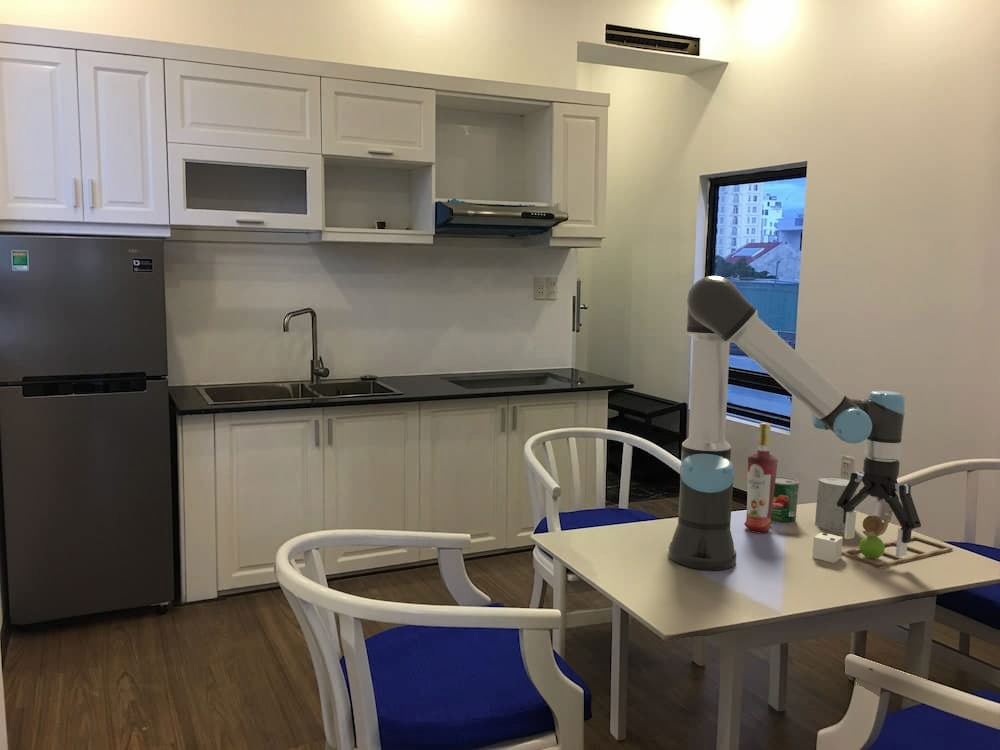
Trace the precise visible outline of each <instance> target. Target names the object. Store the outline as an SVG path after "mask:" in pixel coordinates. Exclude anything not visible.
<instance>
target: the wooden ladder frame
mask: <svg viewBox="0 0 1000 750" xmlns="http://www.w3.org/2000/svg"><path fill="white" fill-rule="evenodd" d="M912 541H917V542H921V543H923V544H924V543H925V544H927V545H931V546H933V547H936V548H939V549H935V550H932V551H928V552H926V551H923V550H920V549H917V548H915V547H911V546H908V545H907V551H910V552H913V553H917V554H915V555H910V556H906V557H902V556H900V557H898V556H896V554H895V555H894V554H891V553H888V552H886V551H884V553H883V554H882V556H885V557H887V558H890V559H893V560H890V561H887V562H886V561H885V562H882V563H875V562H873V561H871V560H867V559H865V558H861V557H859V556H856V555H854V554H857V553H861V551H860V548H854V549H850V550H845V551H842V555H841V556H844V557H845V558H849V559H852V560H855V561H858V562H860V563H863V564H866V565H868V566H871V567H873V568H877V569H881V568H887V567H890V566H893V565H894V564H895V565H899V564H903V563H906V561H907V562H910V561H911V562H912V561H914V560H915V561H916V560H919V559H922V558H928V557H930V556H931V557H932V556H937V555H939V554H940V555H941V554H943V553H947V552H953V550H954V549H953V547H950V546H947V545H944V544H940V543H938V542H934V541H930V540H928V539H924V538H921V537H919V536H916V535H915V536H911V541H910V542H912ZM883 543H884V546H885V547H889V546H895V547H897V539H896V540H891V541H886V542H883ZM902 562H903V563H902ZM898 563H899V564H898Z"/></svg>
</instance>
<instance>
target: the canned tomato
mask: <svg viewBox="0 0 1000 750" xmlns="http://www.w3.org/2000/svg"><path fill="white" fill-rule="evenodd" d="M799 483H800V481H799V480H797V479H794V478H792V477H784V476H776V481H775V488H774V495H773V503H772V513H771V523H774V524H779V525H793V524H795V523H796V522H797V521H796V519H797V508H798V498H799V497H798V496H799Z"/></svg>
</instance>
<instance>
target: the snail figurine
mask: <svg viewBox="0 0 1000 750" xmlns="http://www.w3.org/2000/svg"><path fill="white" fill-rule="evenodd" d="M887 511H888V513H885V514H884V519H883V520H882V519H881V517H880V516H878V515H877V514H876V515H875V514H869V515H868V516H866V517H865V518H864V519H863V521H862V528H863V529H864V530H862V532H861V533H863V535H865V536H864V537H862V538H861V540H860V541H859V544H858V546H859V548H860V551H861V552H860V553H861V554H862V556H864V557H865V558H867V559H870V560H872V559H873V560H876V559H879V558H881V557H882V556H883V555H882V554H883V553H884V552H885V551H886V550H885V549H886V546H884V543H885V542H884V541H883V540H882V538H879V536H881V535H883V534H885V533H886V531H887V529H888V526H889V522H890V520H891V518H892V516H891V515H892V514H891V513H893V511H892V509H891V508H888V509H887Z"/></svg>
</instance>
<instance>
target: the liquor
mask: <svg viewBox="0 0 1000 750" xmlns="http://www.w3.org/2000/svg"><path fill="white" fill-rule="evenodd" d="M771 426H772V425H771V423H768V422H760V423H759V430H758V431H759V438H758V439H759V440H758V445H757V451H756V452H755V453H752V454H750V455H749V456H748V457H747V477H746V478H747V479H746V480H747V482H746V483H747V484H746V485H747V488H746V490H747V493H746V494H747V496H746V497H747V499H746V520H745V522H744V523H743V524H744V526H745V527H746V528H747V529H748V531H750V532H752V533H757V534H764V533H767V532H769V531H770V530H771V529H772V528H773V525H772V522H771V513H772V503H773V495H774V488H775V481H776V477H777V473H778V472H777V470H778V464H779V463H778V462H779V460H778V459H777V457H775V456H774V455H772V454H770V434H771Z"/></svg>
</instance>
